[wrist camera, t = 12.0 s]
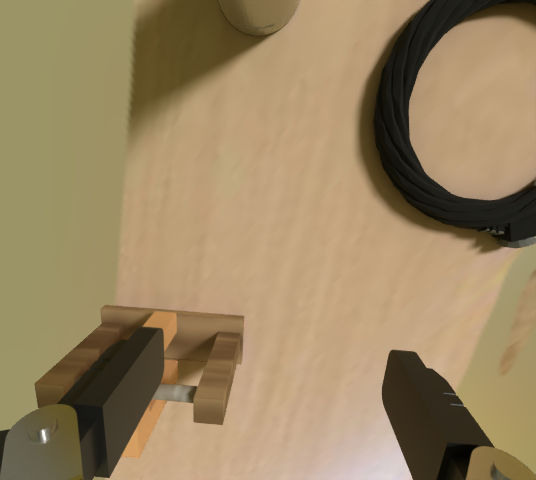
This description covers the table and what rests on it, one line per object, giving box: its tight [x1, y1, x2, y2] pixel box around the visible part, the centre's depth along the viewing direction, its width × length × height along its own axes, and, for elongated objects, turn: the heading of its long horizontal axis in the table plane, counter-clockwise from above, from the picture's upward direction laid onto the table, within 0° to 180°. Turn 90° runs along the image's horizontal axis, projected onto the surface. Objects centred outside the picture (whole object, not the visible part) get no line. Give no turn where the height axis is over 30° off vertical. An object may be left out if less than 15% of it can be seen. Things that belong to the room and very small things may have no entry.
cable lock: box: [374, 0, 536, 248], centre depth 34 cm, size 28×4×30 cm
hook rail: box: [35, 305, 244, 425], centre depth 38 cm, size 7×20×14 cm, turn 86°
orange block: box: [121, 311, 178, 458], centre depth 35 cm, size 10×3×12 cm, turn 177°
